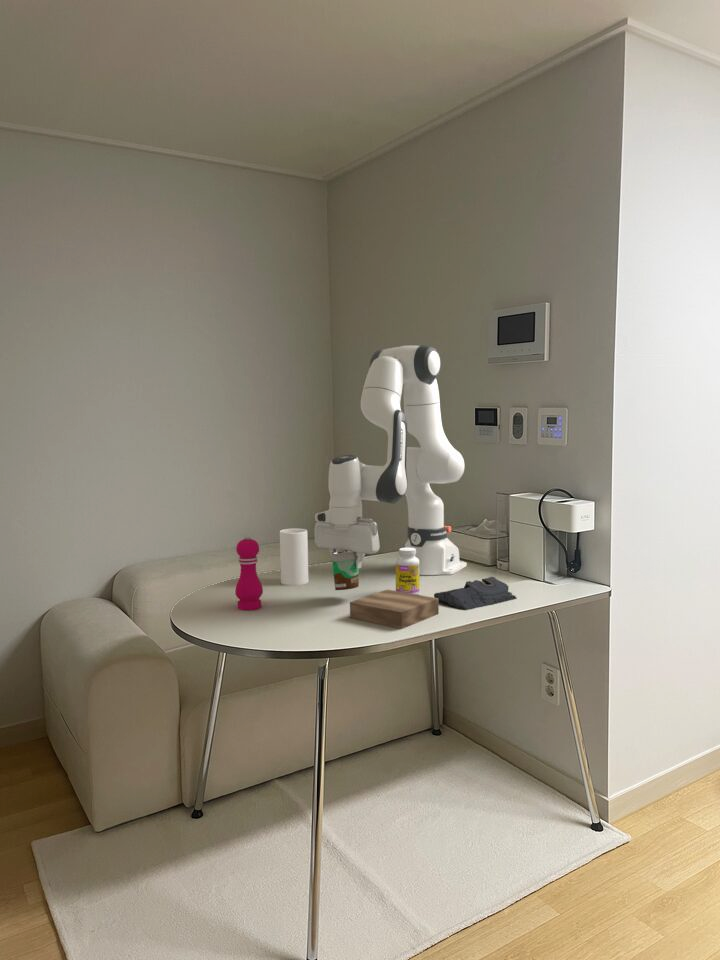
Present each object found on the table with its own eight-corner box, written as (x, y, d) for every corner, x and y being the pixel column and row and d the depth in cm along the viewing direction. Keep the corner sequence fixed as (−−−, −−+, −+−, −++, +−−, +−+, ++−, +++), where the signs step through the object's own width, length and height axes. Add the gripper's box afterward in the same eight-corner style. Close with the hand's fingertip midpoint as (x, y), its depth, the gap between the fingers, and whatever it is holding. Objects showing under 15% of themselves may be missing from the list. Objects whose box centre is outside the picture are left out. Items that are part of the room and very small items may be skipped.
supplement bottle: (395, 596, 214) (395, 551, 213) (396, 591, 220) (395, 546, 219) (419, 597, 213) (419, 551, 212) (419, 591, 220) (419, 546, 219)
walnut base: (388, 604, 206) (387, 589, 206) (438, 613, 196) (438, 598, 196) (350, 617, 194) (349, 602, 194) (402, 628, 184) (401, 612, 184)
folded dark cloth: (425, 601, 211) (425, 584, 210) (482, 589, 224) (482, 572, 223) (464, 613, 198) (464, 595, 198) (522, 599, 211) (522, 582, 211)
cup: (309, 579, 236) (308, 528, 234) (307, 586, 228) (306, 532, 226) (282, 580, 236) (281, 528, 234) (279, 586, 228) (278, 533, 226)
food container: (355, 591, 203) (353, 553, 202) (333, 591, 204) (331, 553, 204) (368, 582, 215) (366, 546, 214) (347, 582, 216) (344, 546, 216)
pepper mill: (232, 610, 202) (229, 535, 200) (240, 603, 209) (238, 530, 207) (259, 611, 201) (256, 535, 199) (266, 604, 208) (264, 531, 206)
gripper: (383, 517, 204) (385, 568, 205) (325, 511, 217) (326, 559, 218) (369, 520, 199) (370, 573, 201) (310, 514, 212) (311, 563, 213)
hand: (347, 566), depth 209 cm, fingers closed on food container, 6 cm apart
